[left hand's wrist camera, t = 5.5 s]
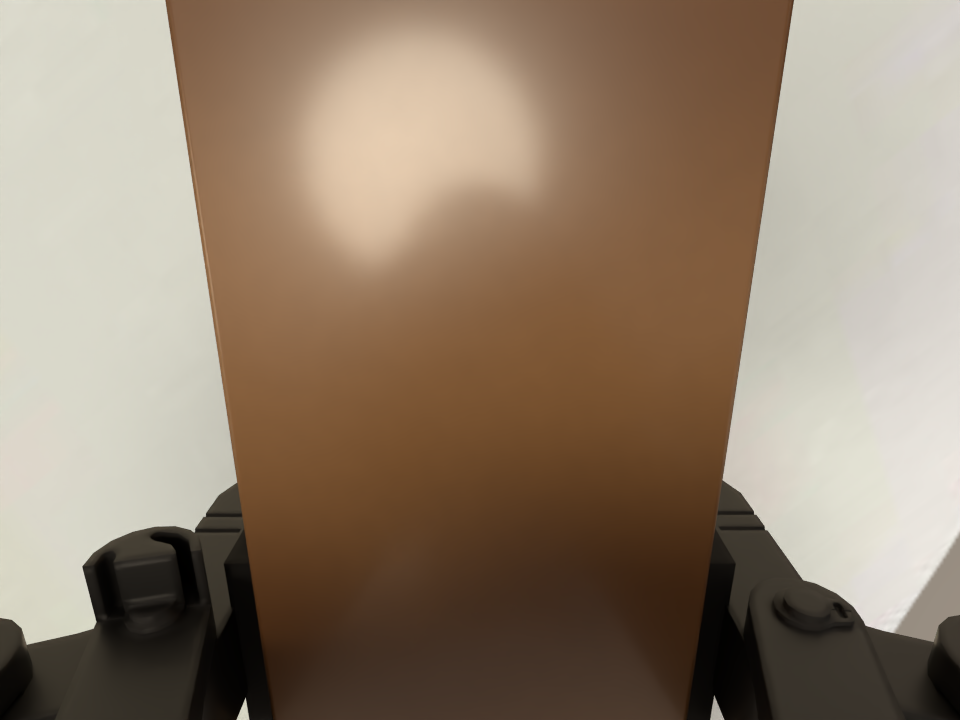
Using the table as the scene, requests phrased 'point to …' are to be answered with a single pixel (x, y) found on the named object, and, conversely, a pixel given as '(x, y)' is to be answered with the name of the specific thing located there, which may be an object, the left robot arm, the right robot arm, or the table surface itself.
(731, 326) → the bar
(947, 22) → the table surface
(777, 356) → the table surface
